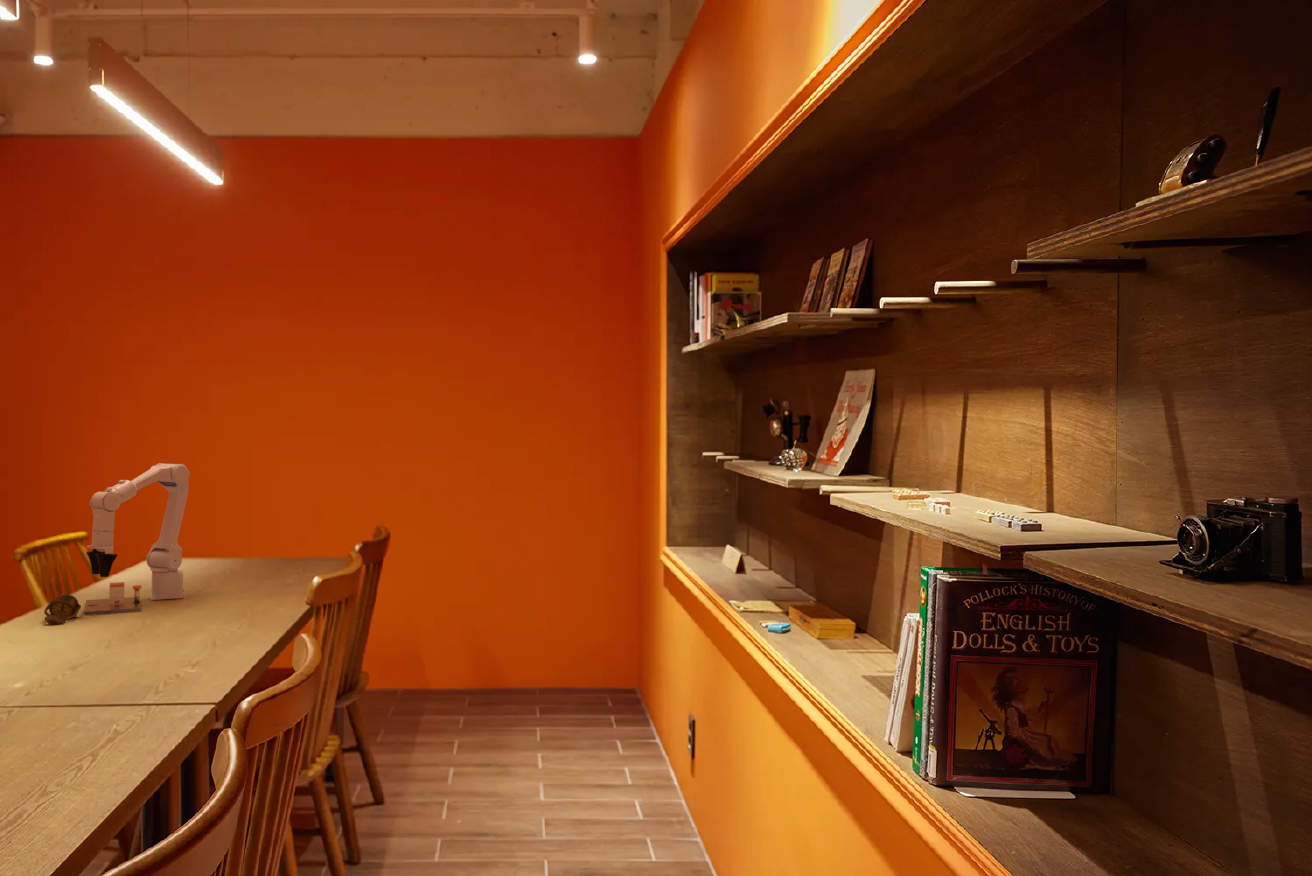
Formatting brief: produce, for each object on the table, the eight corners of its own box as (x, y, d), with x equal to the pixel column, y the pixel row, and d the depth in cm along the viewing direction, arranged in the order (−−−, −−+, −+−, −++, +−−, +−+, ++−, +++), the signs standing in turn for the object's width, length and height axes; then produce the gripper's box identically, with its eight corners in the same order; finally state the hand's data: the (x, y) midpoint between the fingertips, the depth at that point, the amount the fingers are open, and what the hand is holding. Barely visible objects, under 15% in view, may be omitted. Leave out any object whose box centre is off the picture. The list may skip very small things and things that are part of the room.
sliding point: (124, 601, 304) (124, 582, 304) (124, 603, 301) (124, 584, 301) (109, 602, 302) (109, 582, 302) (109, 604, 299) (109, 585, 299)
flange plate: (141, 599, 314) (141, 580, 313) (142, 611, 296) (142, 591, 296) (86, 603, 306) (86, 583, 306) (84, 615, 289) (84, 594, 289)
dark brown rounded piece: (94, 598, 287) (63, 590, 288) (64, 602, 275) (32, 593, 275) (87, 622, 287) (56, 613, 288) (57, 627, 274) (25, 618, 275)
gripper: (81, 529, 298) (78, 573, 298) (95, 533, 288) (93, 578, 288) (106, 529, 303) (104, 572, 303) (121, 532, 293) (119, 577, 293)
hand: (100, 575), depth 296 cm, fingers open, 7 cm apart
